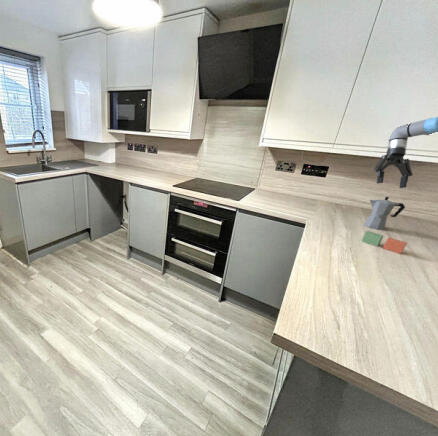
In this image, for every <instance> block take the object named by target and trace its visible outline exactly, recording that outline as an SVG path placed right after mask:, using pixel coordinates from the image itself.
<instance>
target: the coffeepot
mask: <svg viewBox="0 0 438 436" xmlns="http://www.w3.org/2000/svg"><path fill="white" fill-rule="evenodd" d="M389 198H390V197H389V196H385V197H384V199H370V200H369V202H370V204H371V207H372V208H371V213H370V215H369V216H368V218H367V219H366V221H365V222H364V223H363V225H364V226H365V227H367V228H370V229H374V230H381V231H383V230H385V228H386V224H387V219H388V218H387V217H388V216H389V215H390V217H391V218H396V217H397V216H399V214H400V213H402V212H403V210H404V209H406V206H405V205H404V203H402V202H396V201H395V202H393V201H391V200H389ZM395 207H399V208H398V209H397V210H396V211H395V213H394V214H390V213H391V212H392V211H393V209H394V208H395Z"/></svg>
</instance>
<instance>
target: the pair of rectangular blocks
mask: <svg viewBox="0 0 438 436" xmlns="http://www.w3.org/2000/svg"><path fill="white" fill-rule="evenodd" d="M383 238H384V235H383V234H379V233H376V232H372V231H369V230H367V231H365V232H364V234H363V236H362V239H361V242H363V243H366V244H369V245H372V246H374V247H375V246H376V247H378V246H380V244H381V242H382V240H383ZM407 244H408V242H406V241H403V240H399V239H396V238H393V237H388V238H387V239H386V241H385V243H384V245H383V247H382V249H384V250H387V251H389V252H393V253H396V254H399V255H401V254H402V253H403V252H404V250H405V248H406V247H407Z"/></svg>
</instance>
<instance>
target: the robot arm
mask: <svg viewBox="0 0 438 436" xmlns="http://www.w3.org/2000/svg"><path fill="white" fill-rule="evenodd" d="M407 126H408V127H407ZM435 132H438V116H436V117H435V116H434V117H429V118H426V119H422V120H419V121H413V122H410V124H409V125H408V124H406V125H403V126H400V127H397V128H396V129H395V130H394V131H393V132H392V134H391V136H390V139H389V138H388V141H389V142H387V149H386V154H383V155H381V157H380V160H379V161H378V163H377V164H376V165H375V167H374V168H373V170H374V171H375V173H376V177H377V178H376V184H383V183H384V177H385V170H386V169H387V168H388V167H389V166H393V167H396V168H397V169H398V171H399V173H400V174H401V176H400V182H399V189H404V188H407V183H408V181H409V177H413V171H412V168H411V165H410V159H409V158H406V159H405V158H404V157H405V155H406V152H407V147H408V138H413V137H418V136H423V135H424V136H430V135H429V134H432V133H435Z"/></svg>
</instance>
